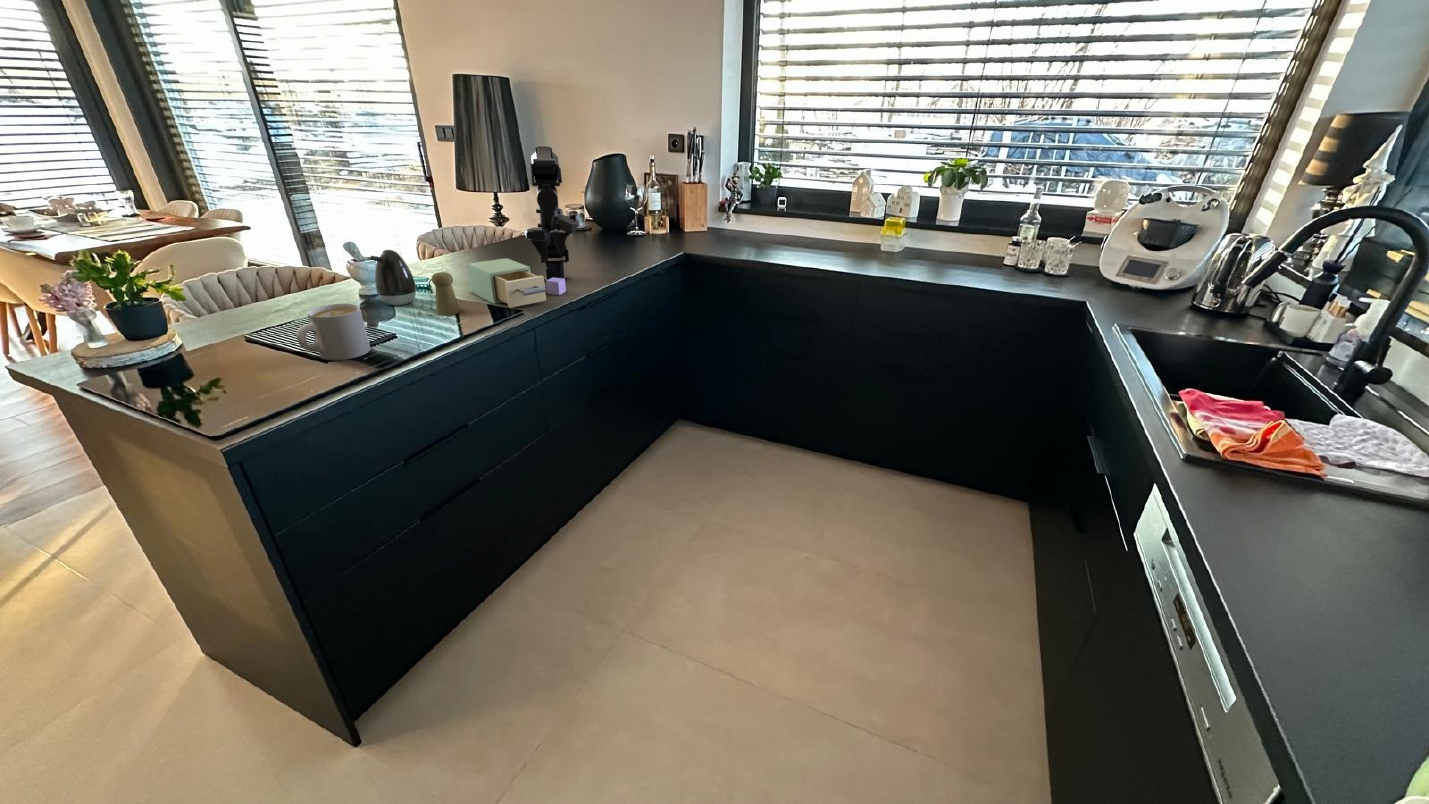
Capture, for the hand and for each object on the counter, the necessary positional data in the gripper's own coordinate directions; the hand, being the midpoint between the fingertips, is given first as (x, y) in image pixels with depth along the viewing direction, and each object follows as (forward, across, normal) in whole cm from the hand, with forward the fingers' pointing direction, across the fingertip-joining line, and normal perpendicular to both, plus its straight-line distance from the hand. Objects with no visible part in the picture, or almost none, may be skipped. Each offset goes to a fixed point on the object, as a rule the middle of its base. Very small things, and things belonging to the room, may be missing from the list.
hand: (553, 258), depth 171 cm
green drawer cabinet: (+11, -8, +14) cm, 19 cm away
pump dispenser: (+11, -26, +36) cm, 46 cm away
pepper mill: (+11, -28, +18) cm, 35 cm away
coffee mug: (+11, -62, +21) cm, 66 cm away
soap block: (+11, 0, 0) cm, 11 cm away
